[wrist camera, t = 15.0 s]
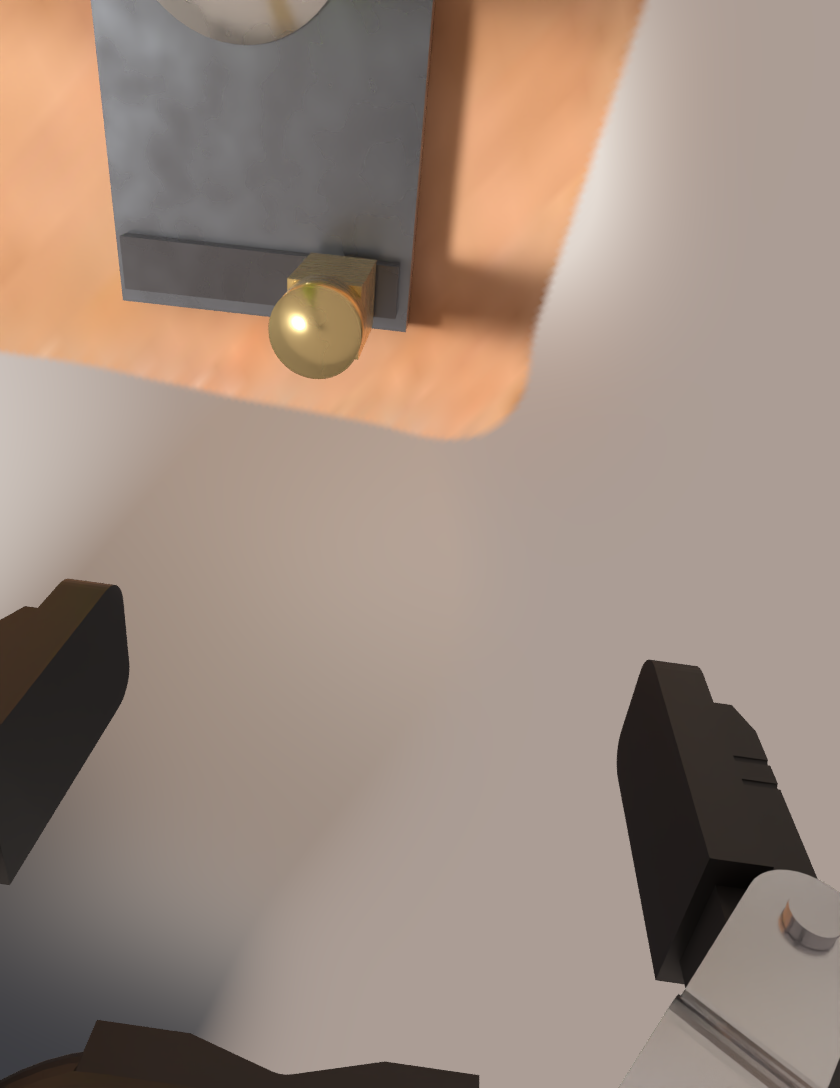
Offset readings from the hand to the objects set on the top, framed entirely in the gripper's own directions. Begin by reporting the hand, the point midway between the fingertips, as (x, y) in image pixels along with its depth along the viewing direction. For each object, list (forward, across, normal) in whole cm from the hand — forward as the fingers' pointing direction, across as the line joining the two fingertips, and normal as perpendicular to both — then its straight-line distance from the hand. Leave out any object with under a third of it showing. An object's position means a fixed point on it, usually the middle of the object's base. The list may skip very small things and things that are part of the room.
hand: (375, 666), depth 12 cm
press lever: (+28, +5, +1) cm, 28 cm away
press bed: (+30, +9, -7) cm, 32 cm away
